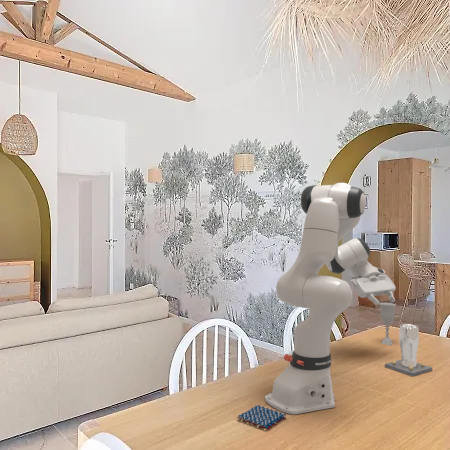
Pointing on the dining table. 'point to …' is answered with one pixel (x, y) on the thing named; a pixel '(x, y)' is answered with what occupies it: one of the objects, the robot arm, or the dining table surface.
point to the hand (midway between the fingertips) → (385, 303)
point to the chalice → (387, 319)
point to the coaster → (409, 371)
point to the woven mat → (261, 417)
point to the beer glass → (408, 344)
